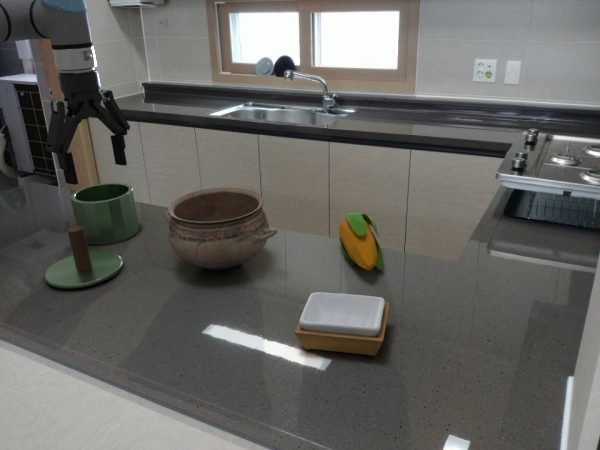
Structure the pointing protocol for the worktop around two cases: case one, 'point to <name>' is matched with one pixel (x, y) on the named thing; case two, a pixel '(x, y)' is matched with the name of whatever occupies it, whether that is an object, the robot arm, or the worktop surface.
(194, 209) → the cooking pot
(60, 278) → the tin lid
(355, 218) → the corn
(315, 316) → the soap dish
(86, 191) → the tin
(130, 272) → the worktop surface
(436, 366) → the worktop surface
